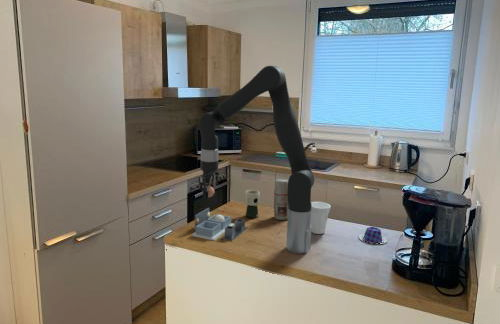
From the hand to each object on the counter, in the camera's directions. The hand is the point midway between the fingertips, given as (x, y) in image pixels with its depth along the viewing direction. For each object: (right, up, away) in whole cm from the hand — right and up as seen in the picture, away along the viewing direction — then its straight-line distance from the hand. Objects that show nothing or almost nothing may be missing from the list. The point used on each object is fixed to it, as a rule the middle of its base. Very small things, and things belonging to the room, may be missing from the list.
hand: (208, 197), depth 171 cm
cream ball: (+4, -12, +12) cm, 17 cm away
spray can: (+34, -13, +26) cm, 45 cm away
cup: (+49, -17, +9) cm, 53 cm away
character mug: (+19, -12, +27) cm, 36 cm away
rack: (+2, -16, +8) cm, 18 cm away
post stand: (+11, -17, +5) cm, 21 cm away
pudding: (+72, -19, +3) cm, 75 cm away
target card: (-4, -15, +10) cm, 19 cm away
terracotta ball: (0, +3, -1) cm, 3 cm away
